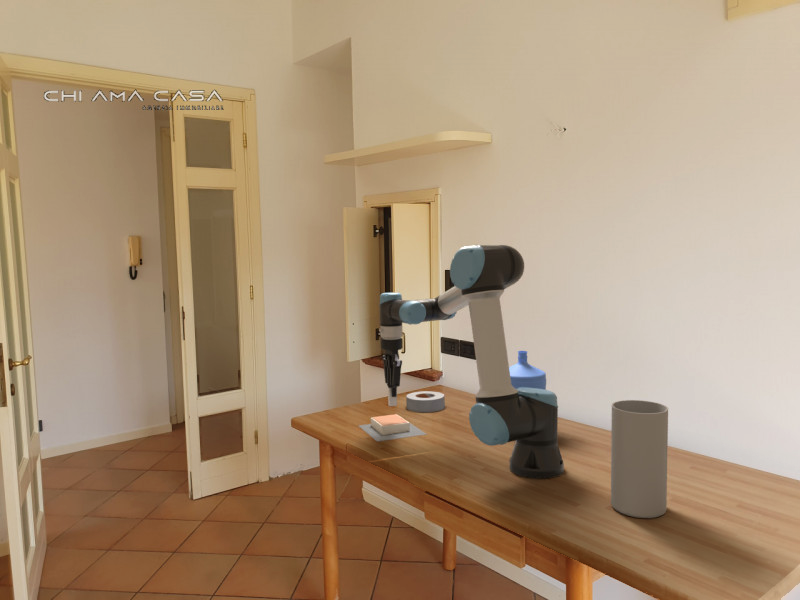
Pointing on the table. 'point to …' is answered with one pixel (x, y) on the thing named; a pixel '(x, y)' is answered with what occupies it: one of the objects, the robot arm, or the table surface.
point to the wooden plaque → (390, 424)
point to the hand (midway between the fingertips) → (392, 405)
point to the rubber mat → (379, 437)
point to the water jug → (526, 374)
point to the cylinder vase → (639, 458)
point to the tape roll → (425, 401)
